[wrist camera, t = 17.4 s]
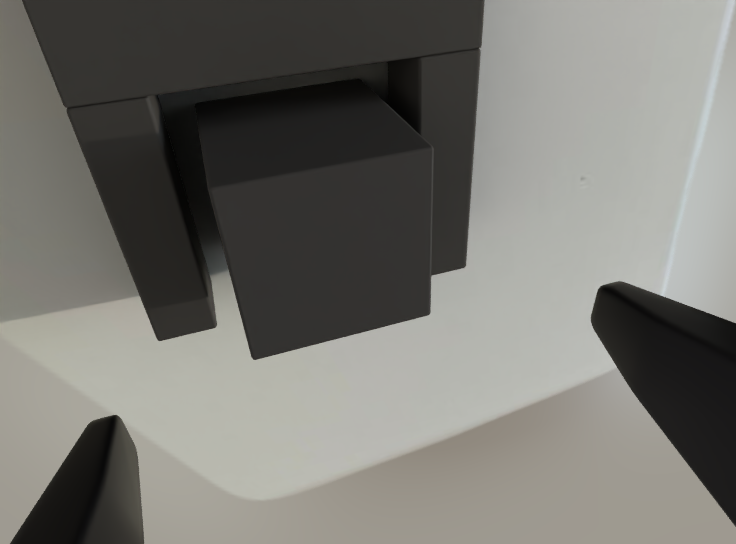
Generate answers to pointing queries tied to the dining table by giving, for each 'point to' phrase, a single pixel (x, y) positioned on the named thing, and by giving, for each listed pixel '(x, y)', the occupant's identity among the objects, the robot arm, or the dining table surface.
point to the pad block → (319, 212)
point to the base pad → (237, 65)
